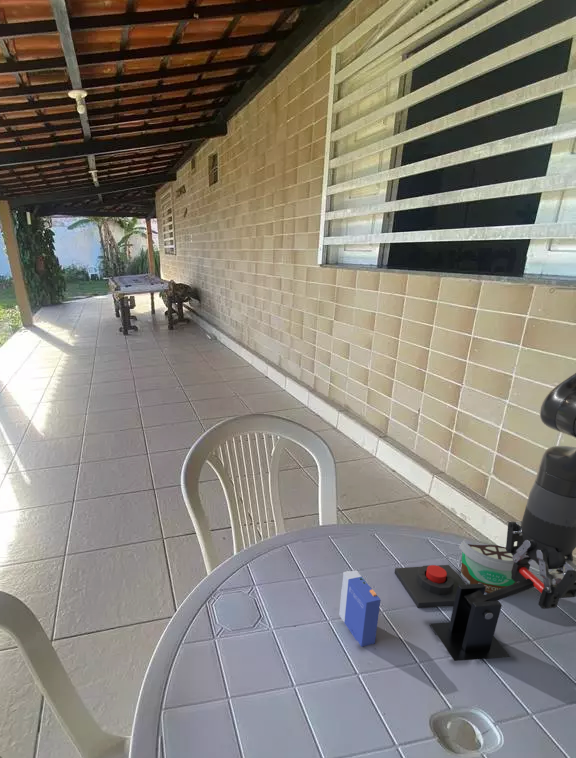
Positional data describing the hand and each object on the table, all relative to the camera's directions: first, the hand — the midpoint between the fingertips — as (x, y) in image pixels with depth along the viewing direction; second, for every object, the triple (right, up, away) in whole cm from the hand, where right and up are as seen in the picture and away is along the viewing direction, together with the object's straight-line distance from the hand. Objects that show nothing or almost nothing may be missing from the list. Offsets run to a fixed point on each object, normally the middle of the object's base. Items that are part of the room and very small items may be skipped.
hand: (531, 592), depth 73 cm
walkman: (-28, -11, +8) cm, 31 cm away
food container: (+4, -6, +15) cm, 17 cm away
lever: (-4, -1, 0) cm, 4 cm away
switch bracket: (-8, -11, +4) cm, 15 cm away
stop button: (-8, -3, +15) cm, 17 cm away
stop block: (-8, -6, +16) cm, 19 cm away
